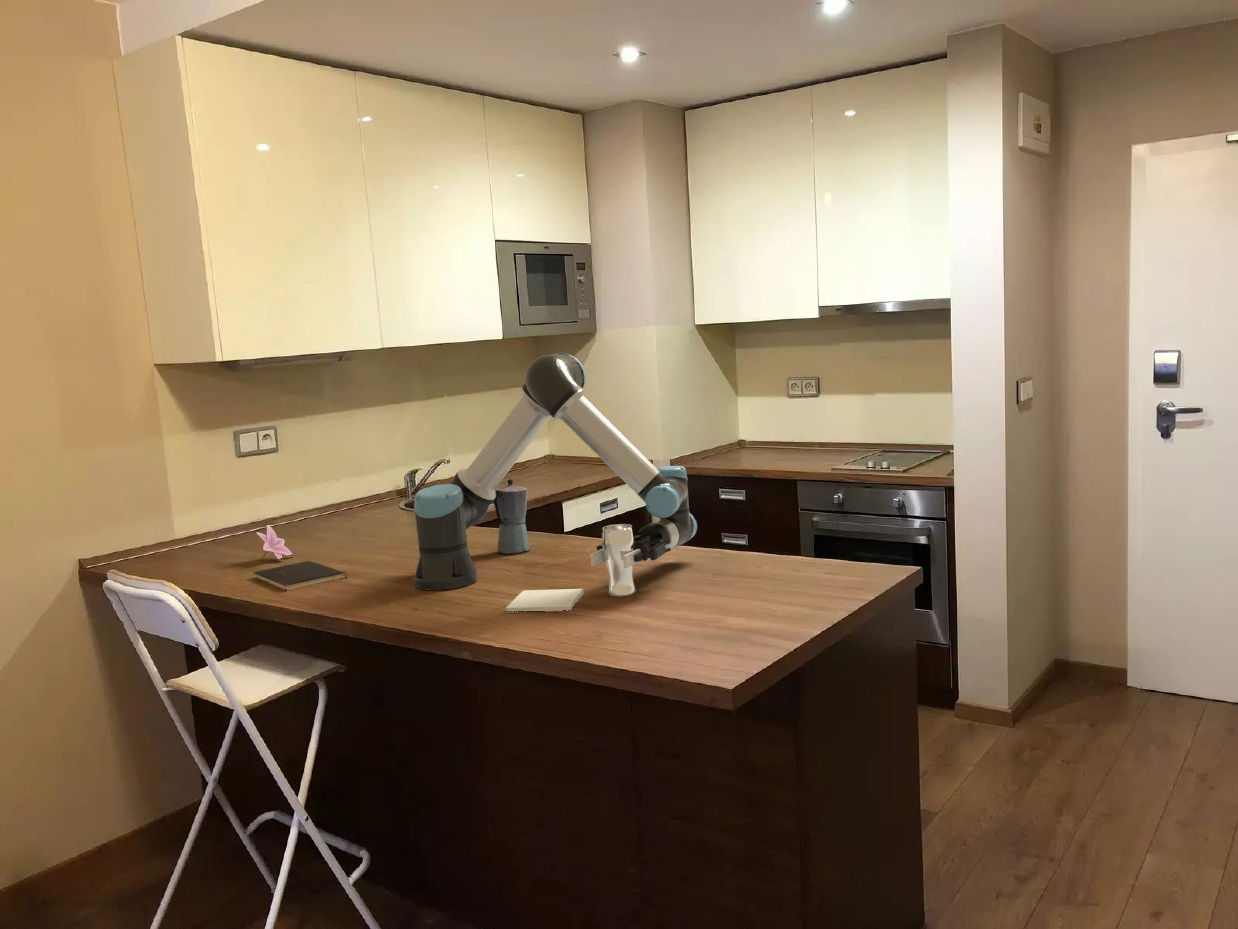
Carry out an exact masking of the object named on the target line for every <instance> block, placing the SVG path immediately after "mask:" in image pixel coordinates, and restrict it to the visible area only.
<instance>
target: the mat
mask: <svg viewBox="0 0 1238 929" xmlns="http://www.w3.org/2000/svg"><path fill="white" fill-rule="evenodd" d="M584 591H585V590H584V588H567V589H566V588H565V589H561V588H560V589H530V590H526V589H525V590H522V591H521V592H520V593H519V594H518V595H517V596H516V597H515V598H514V599H513V600H512V601H511V602H510V603H509V604H508V605H507V606H506V607H505V612H506V611H510V612H509V613H519V612H518V611H525V612H524V613H527V612H526V611H545V612H564V611H563V610H566V611H565V612H569V611H568V610H570V611H571V610H573V608H574V606H575V605H576V604H577V603H578V601H579V600H580V599H581V597H582V596H583V595H584ZM578 599H579V600H578ZM575 603H576V604H575ZM572 607H573V608H572ZM555 610H556V611H555ZM511 611H512V612H511ZM513 611H515V612H513ZM516 611H517V612H516Z"/></svg>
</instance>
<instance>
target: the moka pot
mask: <svg viewBox="0 0 1238 929" xmlns="http://www.w3.org/2000/svg"><path fill="white" fill-rule="evenodd" d="M513 484H514V480H513V479H507V485H505V486H503V487H497V488H495V493H496V497H495V499H494V500H493V505H494V508H495V513H496V517H497V520H498V524H499V527H498V528H499V529H498V539H497V552H498V553H499V552H500V554H504V553H505V554H506V555H508V553H509V554H510V553H513V554H519V553H518V552H522V551H527V550H529V549H531V548H530V542H529V538H528V531H527V525H526V515H527V504H528V503H527V502H528V487H523V486H519V485H513ZM529 551H530V550H529ZM527 552H528V551H527ZM522 553H523V552H522Z"/></svg>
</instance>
